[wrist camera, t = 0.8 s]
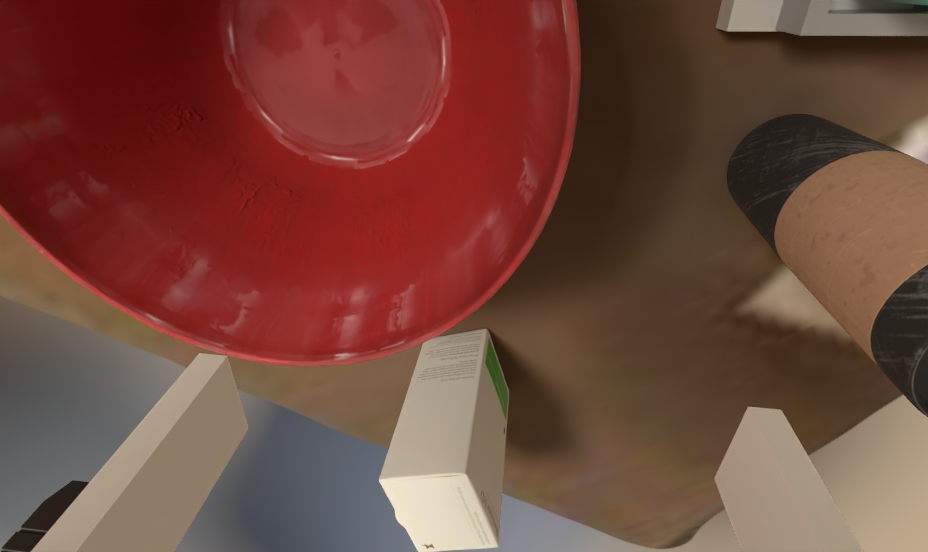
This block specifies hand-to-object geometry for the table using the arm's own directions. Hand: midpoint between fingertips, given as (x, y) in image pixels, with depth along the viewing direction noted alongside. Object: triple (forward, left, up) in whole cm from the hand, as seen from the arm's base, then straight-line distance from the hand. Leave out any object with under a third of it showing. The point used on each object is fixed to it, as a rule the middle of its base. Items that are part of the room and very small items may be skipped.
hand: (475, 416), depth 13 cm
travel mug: (+2, +19, -26) cm, 32 cm away
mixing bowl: (-5, -11, -26) cm, 29 cm away
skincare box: (+22, -3, -26) cm, 34 cm away
